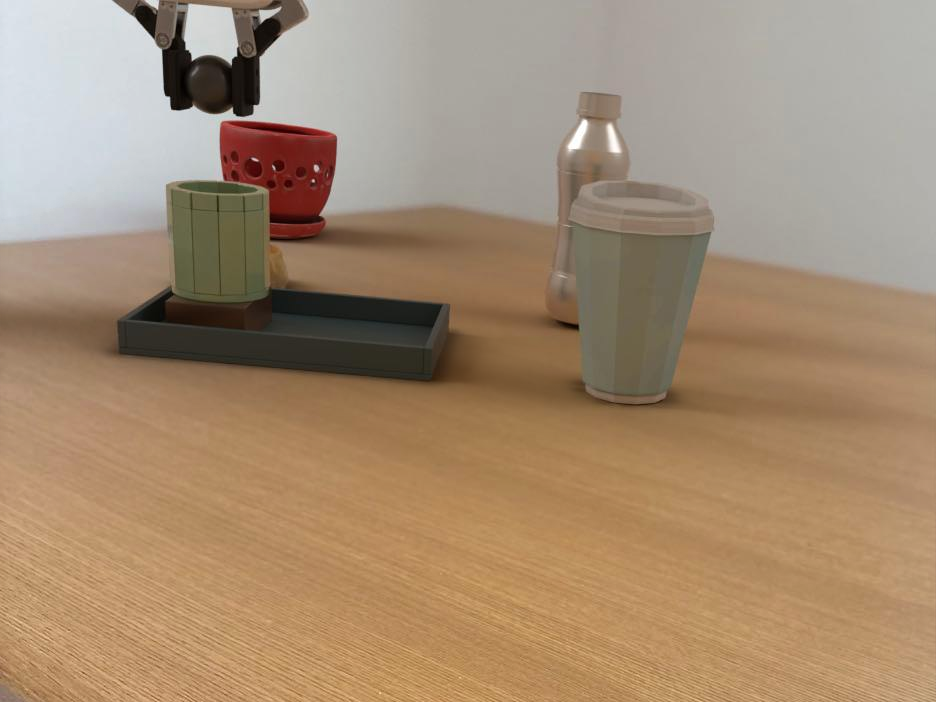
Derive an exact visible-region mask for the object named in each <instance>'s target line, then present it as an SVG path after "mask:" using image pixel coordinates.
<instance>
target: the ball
mask: <svg viewBox="0 0 936 702" xmlns="http://www.w3.org/2000/svg"><path fill="white" fill-rule="evenodd" d="M183 85H184V90H185V93H186V96H187V98H188V99H189V101H190V102H191V103H192V104H193V107H194V108H196V109H197V110H199V111H200V112H202V113H205V114H208V115H222V114H225V113H227V112H228V111H230V110H231V109H233V98H232V63H230V62H229V61H228V60H226V59H225V58H223V57H221V56H218V55H214V54H204V55H200V56H198V57H196V58H194V59H192V62H191V63H190V64H189V65H188V66H187V68H186V70H185V73H184V78H183Z"/></svg>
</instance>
